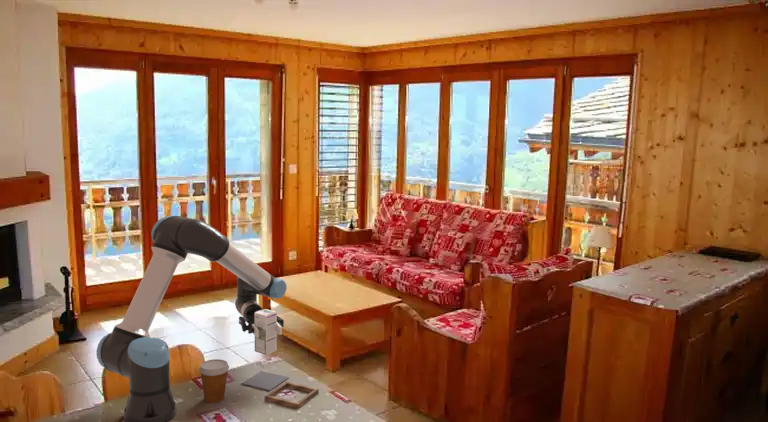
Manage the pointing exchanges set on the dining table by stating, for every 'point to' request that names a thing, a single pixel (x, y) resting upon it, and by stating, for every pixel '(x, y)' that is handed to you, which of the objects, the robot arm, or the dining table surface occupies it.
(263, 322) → the syrup box
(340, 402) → the dining table surface
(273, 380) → the rubber mat
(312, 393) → the walnut holder frame
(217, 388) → the disposable coffee cup
